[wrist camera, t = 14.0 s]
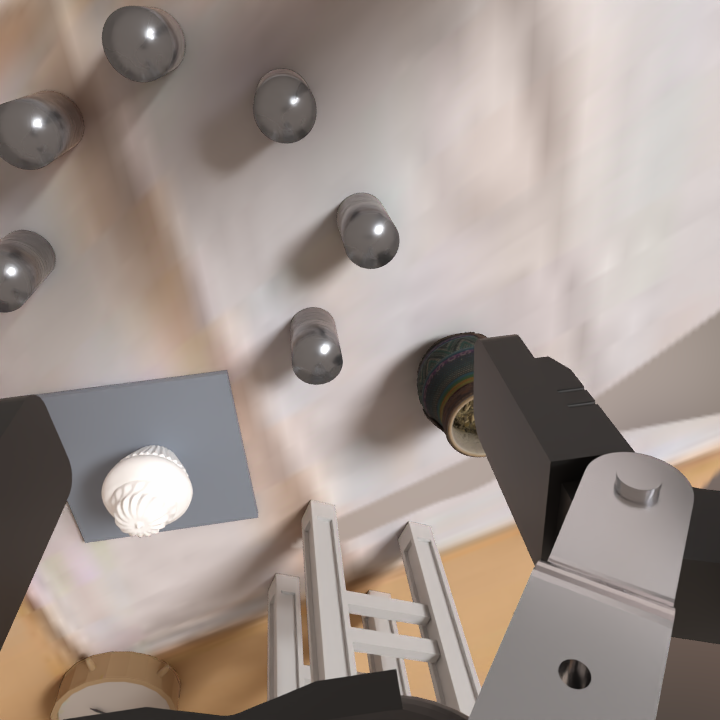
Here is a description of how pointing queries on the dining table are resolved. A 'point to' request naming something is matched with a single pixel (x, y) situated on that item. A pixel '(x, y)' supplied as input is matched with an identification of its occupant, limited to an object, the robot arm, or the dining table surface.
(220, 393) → the rubber mat
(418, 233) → the dining table surface
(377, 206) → the posts
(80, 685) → the alarm clock
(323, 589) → the stool
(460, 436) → the mate gourd
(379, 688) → the robot arm
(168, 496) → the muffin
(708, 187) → the dining table surface
